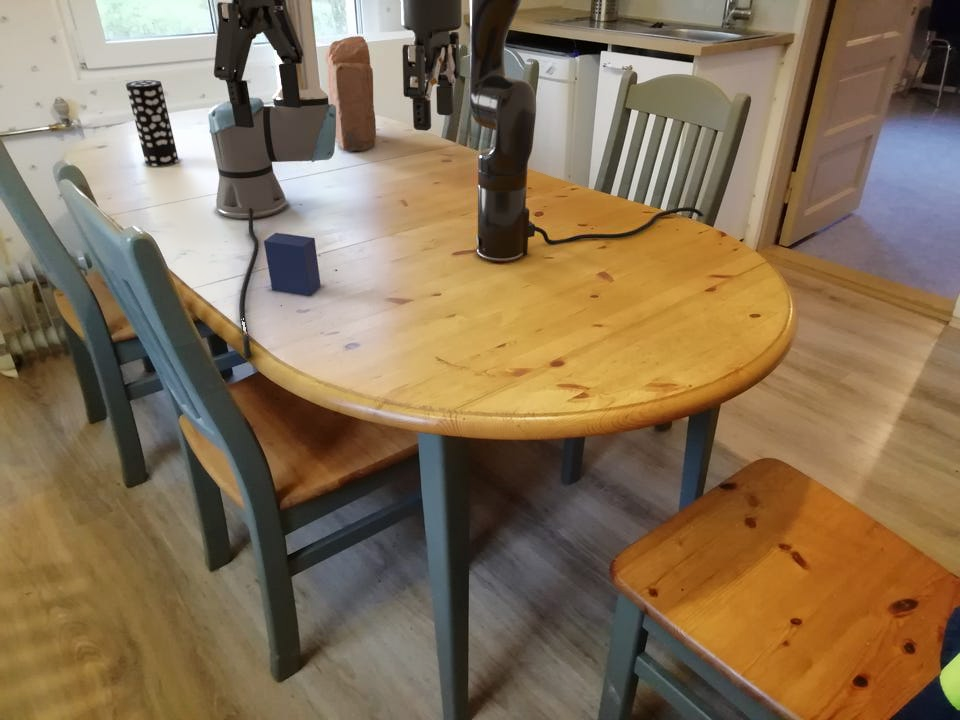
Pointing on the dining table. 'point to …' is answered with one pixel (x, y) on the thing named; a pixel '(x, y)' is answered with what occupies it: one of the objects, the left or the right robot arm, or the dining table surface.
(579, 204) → the dining table surface
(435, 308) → the dining table surface
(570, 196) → the dining table surface
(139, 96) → the black white spotted cylinder
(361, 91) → the stone
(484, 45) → the right robot arm
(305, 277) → the block
